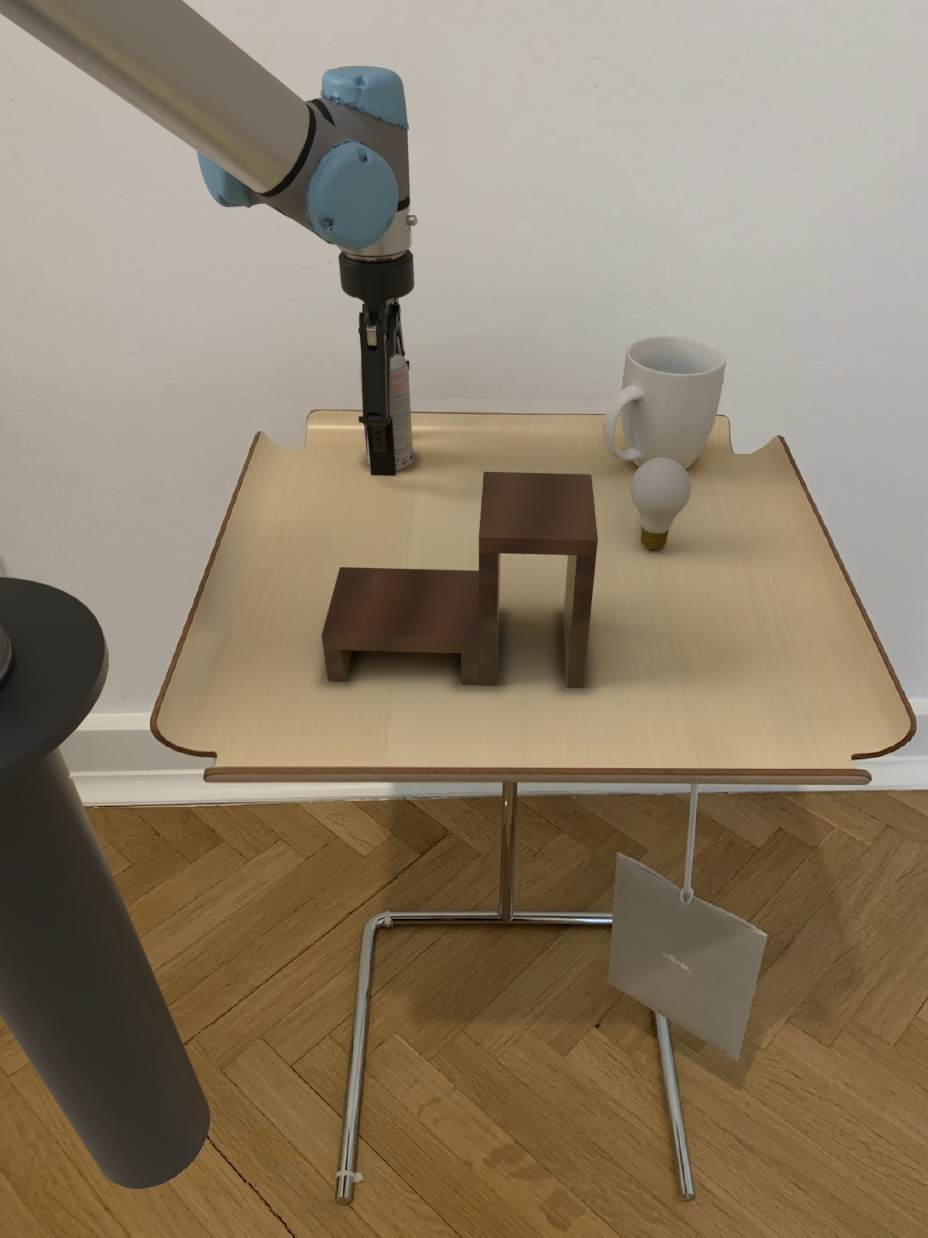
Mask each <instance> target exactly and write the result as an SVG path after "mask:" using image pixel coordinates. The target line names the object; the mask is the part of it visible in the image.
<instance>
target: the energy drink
mask: <svg viewBox="0 0 928 1238" xmlns="http://www.w3.org/2000/svg"><path fill="white" fill-rule="evenodd" d="M406 359H407V358H405V356H404V357H403V356H401V355H398V354H395V356H394V357H392V358H391V366H390V415H391V418H392V419H393V434H394V449H395V464H396V472H397V471H401V470H405V469H406V468H407V467H409V466H410V465H411V464H412V462H413V460H414V447H413V446H414V445H413V429H412V410H411V409H412V408H411V391H410V390H411V389H410V388H411V387H410V368H409V369H408V366H407V363H406V361H407V360H406ZM358 373H359V383H360V395H361V396H362V372H361V364H360V366H359V370H358ZM361 405H362V408H363V404H362V403H361ZM363 427H364V429H363V431H364V437H365V439H364V440H365V450H366V451H365V452H366V462H367V463H368V464H369V465H370V458H369V446H368V435H367V425H364V424H363Z"/></svg>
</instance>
